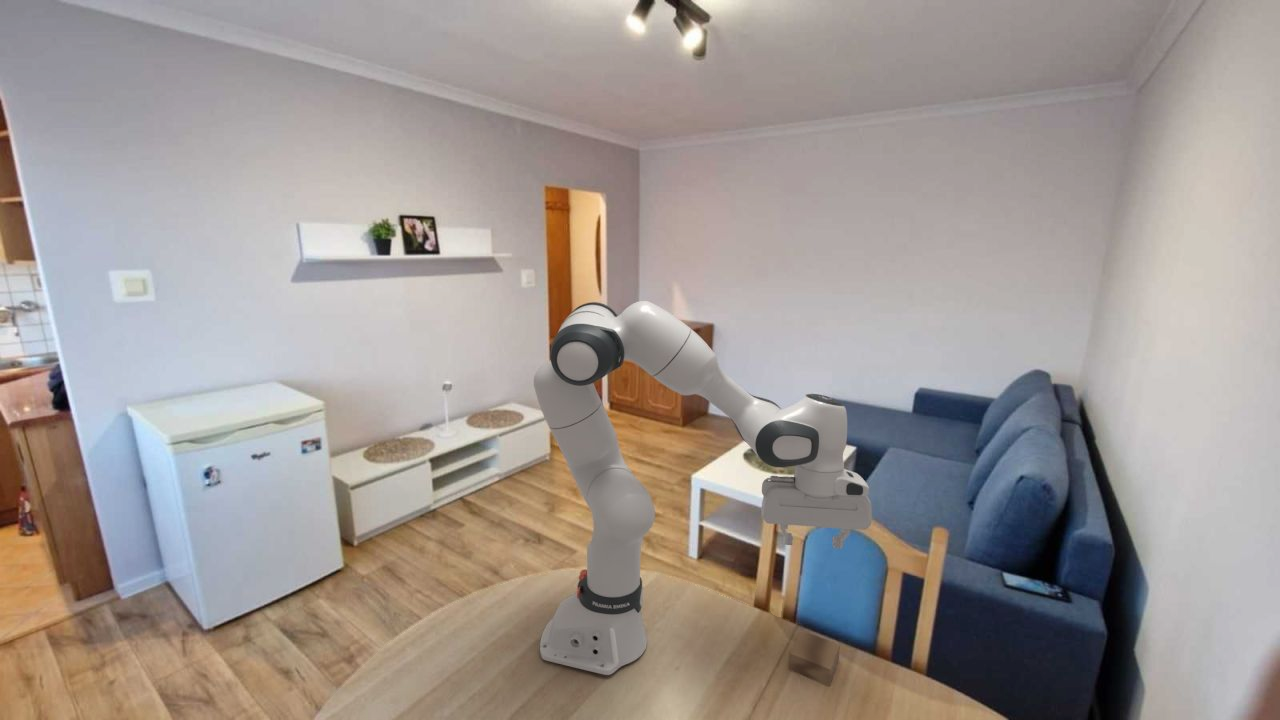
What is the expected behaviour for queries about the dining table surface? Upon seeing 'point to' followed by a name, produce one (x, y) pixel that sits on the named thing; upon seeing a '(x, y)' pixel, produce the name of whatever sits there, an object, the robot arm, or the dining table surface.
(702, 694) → the dining table surface
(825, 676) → the walnut block
